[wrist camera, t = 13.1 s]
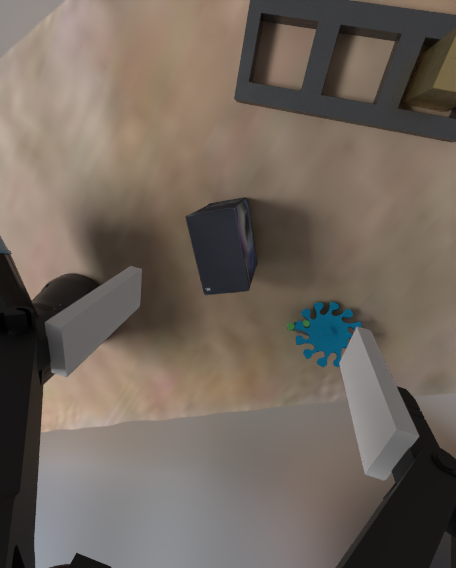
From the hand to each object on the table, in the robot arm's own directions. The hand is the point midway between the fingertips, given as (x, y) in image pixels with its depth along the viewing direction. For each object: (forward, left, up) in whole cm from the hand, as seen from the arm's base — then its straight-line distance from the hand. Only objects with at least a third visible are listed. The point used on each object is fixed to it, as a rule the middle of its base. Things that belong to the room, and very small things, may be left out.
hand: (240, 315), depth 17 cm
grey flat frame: (+5, +19, -27) cm, 33 cm away
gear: (+12, -14, -27) cm, 32 cm away
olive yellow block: (+13, +19, -27) cm, 35 cm away
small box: (-5, -3, -27) cm, 28 cm away
